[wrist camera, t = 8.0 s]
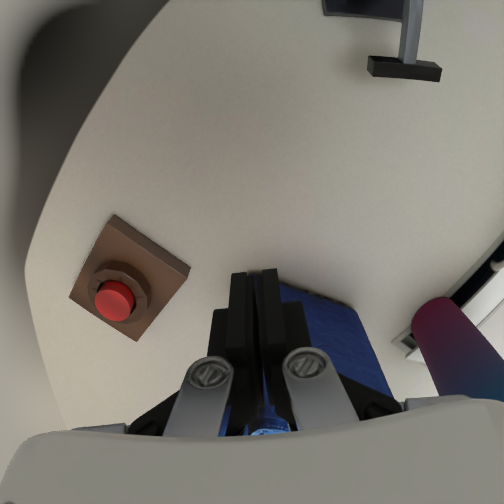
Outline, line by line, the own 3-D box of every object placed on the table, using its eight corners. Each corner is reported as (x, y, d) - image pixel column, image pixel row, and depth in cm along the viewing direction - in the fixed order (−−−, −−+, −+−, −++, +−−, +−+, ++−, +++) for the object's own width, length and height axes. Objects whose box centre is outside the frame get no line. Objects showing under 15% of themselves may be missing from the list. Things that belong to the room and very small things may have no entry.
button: (125, 317, 33) (120, 327, 32) (95, 297, 32) (89, 307, 31) (141, 295, 32) (136, 304, 30) (109, 273, 31) (103, 282, 29)
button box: (141, 330, 39) (132, 352, 35) (75, 287, 36) (62, 306, 32) (190, 267, 35) (184, 287, 31) (114, 214, 32) (99, 229, 28)
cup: (401, 303, 37) (476, 446, 18) (463, 278, 36) (555, 396, 17) (403, 353, 41) (456, 480, 22) (459, 330, 40) (525, 442, 21)
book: (230, 298, 36) (218, 462, 19) (249, 260, 34) (248, 429, 16) (337, 334, 39) (377, 476, 21) (360, 302, 37) (419, 446, 19)
